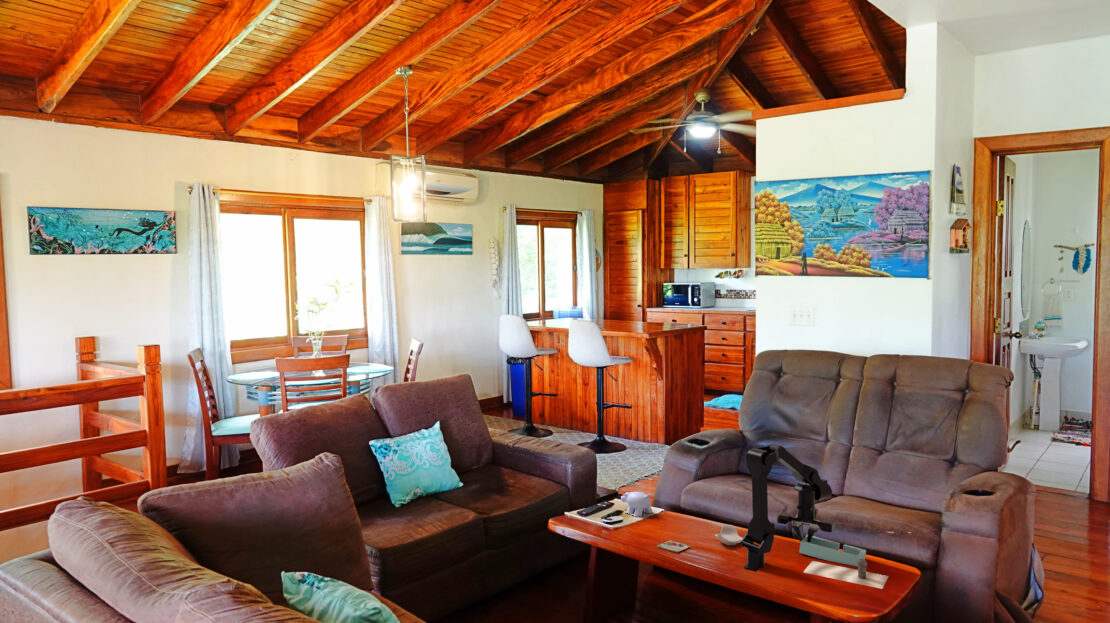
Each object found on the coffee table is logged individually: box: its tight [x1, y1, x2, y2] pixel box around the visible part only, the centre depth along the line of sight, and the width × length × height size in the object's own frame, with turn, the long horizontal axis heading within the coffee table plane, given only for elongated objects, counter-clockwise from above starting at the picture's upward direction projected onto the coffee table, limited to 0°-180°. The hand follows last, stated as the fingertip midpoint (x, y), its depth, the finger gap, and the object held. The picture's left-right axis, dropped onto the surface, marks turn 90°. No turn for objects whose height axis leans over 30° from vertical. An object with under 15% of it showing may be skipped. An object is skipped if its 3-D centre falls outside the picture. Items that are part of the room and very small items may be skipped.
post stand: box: [803, 559, 889, 590], centre depth 240 cm, size 24×12×7 cm, turn 57°
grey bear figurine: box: [620, 491, 654, 518], centre depth 308 cm, size 11×15×10 cm
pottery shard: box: [714, 524, 743, 546], centre depth 272 cm, size 10×11×5 cm
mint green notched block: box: [798, 534, 867, 567], centre depth 255 cm, size 20×9×4 cm, turn 57°
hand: (805, 545), depth 260 cm, fingers closed on mint green notched block, 2 cm apart
